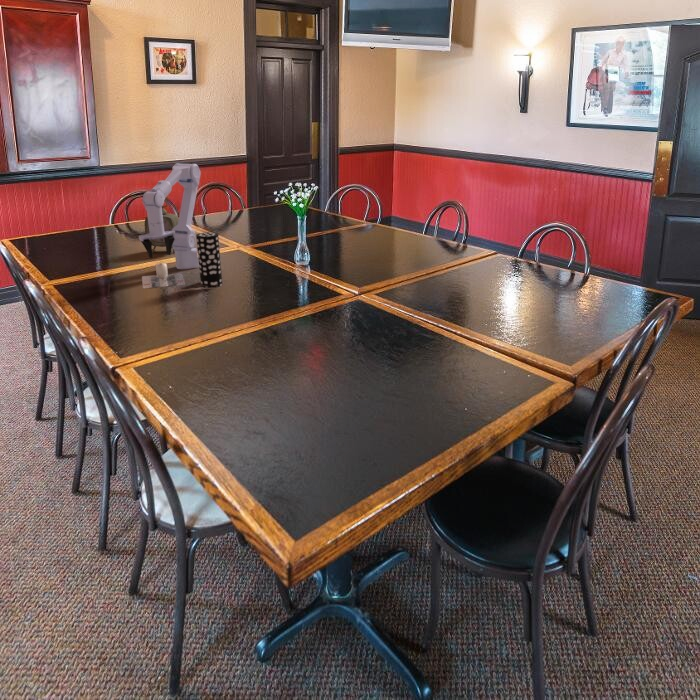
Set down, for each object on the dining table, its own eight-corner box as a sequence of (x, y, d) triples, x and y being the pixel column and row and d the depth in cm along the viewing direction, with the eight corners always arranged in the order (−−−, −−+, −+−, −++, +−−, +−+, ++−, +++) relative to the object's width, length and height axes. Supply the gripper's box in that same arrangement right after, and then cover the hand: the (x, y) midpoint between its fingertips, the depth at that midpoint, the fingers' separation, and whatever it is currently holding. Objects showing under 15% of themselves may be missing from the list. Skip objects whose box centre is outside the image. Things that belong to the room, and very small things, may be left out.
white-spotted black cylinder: (226, 282, 262) (222, 233, 255) (215, 288, 255) (211, 237, 247) (207, 281, 265) (203, 231, 257) (196, 286, 257) (191, 236, 250)
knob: (168, 277, 267) (166, 264, 265) (157, 278, 266) (155, 265, 264) (167, 273, 272) (166, 261, 270) (156, 274, 271) (154, 262, 269)
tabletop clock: (147, 253, 310) (141, 199, 300) (156, 249, 318) (149, 196, 309) (176, 254, 307) (170, 200, 298) (184, 250, 316) (178, 197, 306)
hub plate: (182, 275, 273) (181, 269, 272) (185, 286, 257) (185, 280, 257) (142, 278, 269) (141, 272, 268) (143, 290, 253) (142, 284, 252)
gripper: (168, 218, 267) (172, 251, 272) (134, 223, 259) (138, 257, 264) (176, 221, 262) (179, 254, 267) (141, 226, 254) (145, 260, 259)
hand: (159, 256), depth 265 cm, fingers open, 7 cm apart
